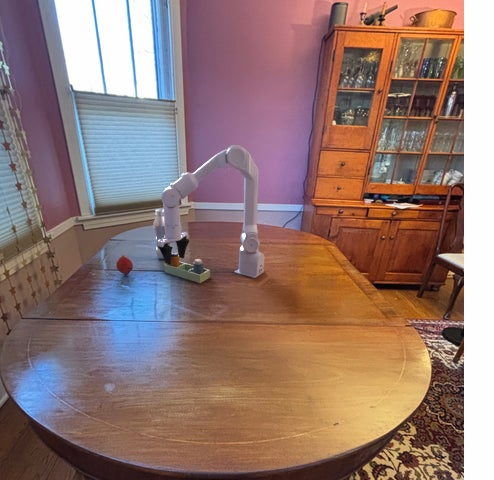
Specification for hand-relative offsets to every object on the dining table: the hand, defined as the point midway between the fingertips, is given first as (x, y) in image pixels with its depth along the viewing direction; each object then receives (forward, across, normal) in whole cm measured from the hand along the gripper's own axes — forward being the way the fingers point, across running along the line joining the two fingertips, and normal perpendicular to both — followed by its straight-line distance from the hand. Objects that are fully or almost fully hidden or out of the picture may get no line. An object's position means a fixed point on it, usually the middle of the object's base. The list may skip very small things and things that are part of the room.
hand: (175, 260), depth 113 cm
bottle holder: (+5, 0, +6) cm, 7 cm away
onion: (+5, +13, -13) cm, 19 cm away
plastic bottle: (+5, -9, -14) cm, 18 cm away
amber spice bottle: (+4, 0, 0) cm, 4 cm away
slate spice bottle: (+4, 0, +11) cm, 12 cm away
